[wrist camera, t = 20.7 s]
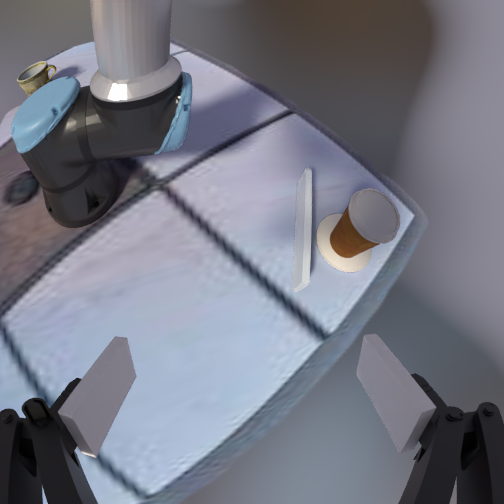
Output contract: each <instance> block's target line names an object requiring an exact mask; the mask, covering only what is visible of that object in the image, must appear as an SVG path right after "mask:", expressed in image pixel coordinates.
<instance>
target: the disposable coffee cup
mask: <svg viewBox="0 0 504 504" xmlns="http://www.w3.org/2000/svg"><path fill="white" fill-rule="evenodd" d="M399 227H400V216H399V213H398V210H397V208H396V206H395V205H394V203H393V202H392V200H391V199H390V198H389V197H388V196H387V195H385V194H384V193H382V192H381V191H379V190H376V189H373V188H366V189H363V190H360V191H357V192H355V193H354V194H353V195H352V197H351V199H350V202H349V206H348V207H347V209H346V211H345V212H344V214H343V215H342V217H341V219H340V220H339V222H338V223H337V225H336V226H335V228H334V229H333V231H332V232H331V234H330V244H331V247H332V249H333V250H334V251H335V252H336V253H337V254H338V255H339V256H341V257H343V258H352V257H354V256H356V255H358V254H360V253H362V252H364V251H366V250H368V249H370V248H373V247H375V246H377V245H379V244H381V243H387V242H390V241H391V240H393V239H394V238H395V236H396V234H397V231H398V230H399Z"/></svg>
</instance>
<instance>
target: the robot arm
mask: <svg viewBox="0 0 504 504" xmlns="http://www.w3.org/2000/svg"><path fill="white" fill-rule="evenodd" d="M90 5H91V16H92V25H93V33H94V41H95V48H96V55H97V61H98V67H99V69H98V70H97V72H96V73H95V74H94V75H93V77H92V79H91V81H90V86H85V87H80V82H79V81H78V80H77V79H76V78H74V77H70V76H66V77H61V78H58V79H55V80H53V81H51V82H49V83H47V84H45V85H44V86H42V87H41V88H39V89H38V90H37V91H35V92H34V93H33V94H32V95H31V96H30V97H29V98H28V99H27V100H26V101H25V102H24V103H23V104H22V105H21V106H20V108H19V109H18V111H17V112H16V114H15V116H14V118H13V121H12V124H11V135H12V137H13V139H14V142H15V144H16V146H17V151H18V152H19V153H20V154H21V156H22V157H23V159H24V161H25V162H26V164H27V165H28V167H29V168H30V170H31V171H32V173H33V174H34V176H35V177H36V179H37V180H38V182H39V183H40V185H41V186H42V189H43V194H44V199H45V204H46V208H47V210H48V212H49V214H50V215H51V216H52V218H53V219H54V220H55V221H56V222H57V223H58V224H60V225H62V226H64V227H68V228H78V227H83V226H86V225H88V224H90V223H92V222H94V221H96V220H97V219H98V218H100V217H101V216H102V215H103V214H104V213H105V212H106V211H107V210H108V209H109V208H110V206H111V205H112V203H113V201H114V199H115V197H116V194H117V190H118V179H117V175H116V172H115V169H114V167H113V165H112V164H111V163H110V162H109V161H108V160H113V159H120V158H128V157H136V156H145V155H157V154H159V153H163V152H169V151H174V150H177V149H178V148H180V147H181V146H182V144H183V143H184V141H185V138H186V135H187V131H188V125H189V119H190V107H191V101H192V78H191V75H190V74H189V73H185V72H183V71H182V72H181V70H182V68H181V64H180V62H179V61H178V60H177V59H176V58H175V57H173V56H172V55H170V29H171V13H172V0H90ZM356 375H357V377H358V378H359V380H360V382H361V383H362V385H363V387H364V389H365V391H366V392H367V394H368V396H369V398H370V400H371V401H372V403H373V405H374V407H375V409H376V410H377V412H378V414H379V416H380V418H381V419H382V421H383V423H384V425H385V427H386V429H387V430H388V432H389V434H390V436H391V438H392V439H393V441H394V443H395V445H396V447H397V449H398V451H399V453H403V452H406V451H409V450H412V449H414V447H415V446H416V444H417V442H418V441H419V442H420V444H421V445H422V446H421V448H420V450H419V451H418V453H417V454H416V456H415V458H414V460H415V459H416V461H415V464H414V467H413V470H412V472H411V475H410V478H409V480H408V483H407V485H406V488H405V490H404V492H403V495H402V497H401V499H400V501H399V503H398V504H449V502H450V499H451V496H452V492H453V488H454V484H455V480H456V476H457V504H504V424H503V420H502V417H501V414H500V411H499V409H498V407H497V406H496V405H495V404H493V403H490V402H484V403H482V404H480V405H479V407H478V408H477V410H476V411H475V412H467V413H464V412H463V411H462V410H461V409H459V408H457V407H451V406H449V407H447V405H446V404H445V403H444V402H443V400H442V399H441V398H440V397H439V396H438V394H437V393H436V392H435V391H434V390H433V388H432V387H431V386H429V384H428V382H427V381H426V380H425V379H424V378H422V377H421V376H419V375H418V374H411V375H410V374H409V373H408V371H407V370H406V369H405V368H404V367H403V365H402V364H401V363H400V362H399V360H398V359H397V358H396V357H395V356H394V354H392V352H391V351H390V350H389V349H388V347H387V346H386V345H385V344H384V343H383V341H382V340H381V339H380V338H379V337H378V336H377V334H370V335H364V339H363V344H362V349H361V354H360V359H359V363H358V368H357V372H356ZM135 378H136V373H135V369H134V365H133V361H132V357H131V353H130V349H129V345H128V340H127V338H125V337H114V339H113V340H112V341H111V342H110V344H109V345H108V346H107V347H106V349H105V350H104V351H103V352H102V354H101V355H100V356H99V358H98V359H97V360H96V361H95V363H94V364H93V365H92V367H91V368H90V369H89V370H88V372H87V373H86V374H85V376H84V377H83V378H82V379H80V378H76V379H75V380H73V381H72V382H70V383H69V384H68V386H67V387H66V388H65V391H63V392H62V393H61V395H60V396H59V397H58V398H57V400H56V401H55V402H54V404H53V405H52V406H51V408H50V409H49V407H48V405H47V404H46V402H45V401H44V400H43V399H41V398H32V399H29V400H27V401H26V402H25V403H24V404H23V406H22V411H23V413H24V415H25V416H26V418H20V417H19V416H18V414H17V412H16V411H15V410H13V409H4V410H2V411H1V412H0V504H43V498H42V486H43V489H44V493H45V496H46V499H47V502H48V504H98V503H97V501H96V499H95V497H94V494H93V492H92V490H91V488H90V486H89V484H88V481H87V479H86V477H85V474H84V472H83V469H82V467H81V464H80V462H79V459H78V456H77V454H76V453H75V449H76V447H77V446H78V447H79V449H80V451H81V452H82V453H83V454H86V455H89V456H93V457H97V455H98V452H99V450H100V448H101V446H102V444H103V442H104V440H105V438H106V436H107V434H108V432H109V429H110V427H111V425H112V423H113V421H114V419H115V417H116V415H117V413H118V411H119V409H120V407H121V405H122V403H123V401H124V399H125V398H126V396H127V394H128V392H129V390H130V388H131V386H132V384H133V382H134V380H135Z"/></svg>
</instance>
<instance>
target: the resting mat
mask: <svg viewBox="0 0 504 504" xmlns="http://www.w3.org/2000/svg"><path fill="white" fill-rule="evenodd" d="M342 215H343V214H339V213H337V214H331V215H328V216H327V217H325V218H324V219H323V220H322V221H321V222H320V224H319V226H318V228H317V232H316V241H317V246H318V249H319V251H320V253H321V255H322V256H323V258H324V259H325V260H326V261H327V262H328V263H329V264H330V265H331V266H332V267H334V268H335V269H337V270H339V271H342V272H347V273H353V272H357V271H359V270H361V269H363V268H364V267H365V266H366V265H367V264H368V262H369V260H370V258H371V253H372V248H370V249H368V250H366V251H364V252H362V253H360V254H358V255H356V256H354V257H352V258H343V257H341V256H339V255H338V254H337V253H336V252H335V251H334V250H333V249H332V247H331V244H330V234H331V232H332V231H333V229H334V228H335V226H336V225H337V223H338V222H339V220H340V219H341V217H342Z"/></svg>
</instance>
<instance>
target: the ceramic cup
mask: <svg viewBox="0 0 504 504" xmlns="http://www.w3.org/2000/svg"><path fill="white" fill-rule="evenodd" d="M50 68H54V69H55V72H56V67H55V66H53V65H51V66H49V67H48V65H47V62H46V61H41V62H38V63H35V64H33V65H32V66H30V67H28V68H27V69H25V70H24V71H23V72H22V73H21V74H20V75H19V76H18V78H17V80H18V83H19V84H20V86H21V87H22V88H23V89H24V91H25V93H26V94H27V96H28V97H30V96H31V95H32V94H33V93H34V92H35V91H37V90H38V89H39V88H41V87H42V86H44V85H45V84H47V83H49V80H50V79H51V77H52V76H53V75H54V73H55V72H54V73H53V74H52V75H51V77H50V79H48V70H49V69H50Z"/></svg>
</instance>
